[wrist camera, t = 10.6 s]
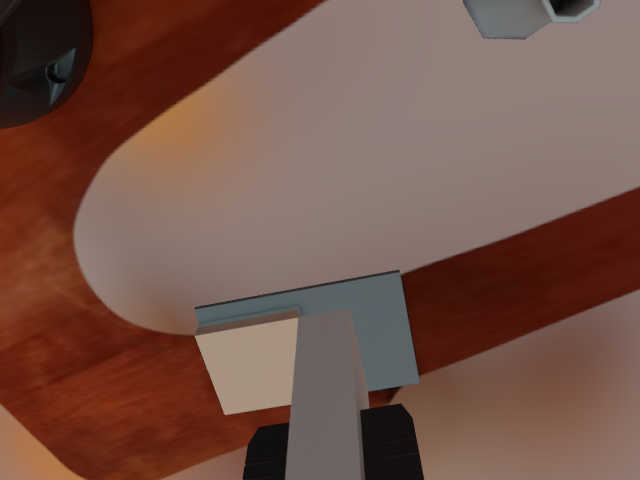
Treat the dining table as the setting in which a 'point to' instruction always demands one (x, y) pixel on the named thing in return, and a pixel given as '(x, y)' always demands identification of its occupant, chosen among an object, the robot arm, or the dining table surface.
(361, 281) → the mat
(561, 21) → the flask
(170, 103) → the dining table surface
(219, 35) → the dining table surface
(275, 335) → the tile
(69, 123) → the dining table surface
